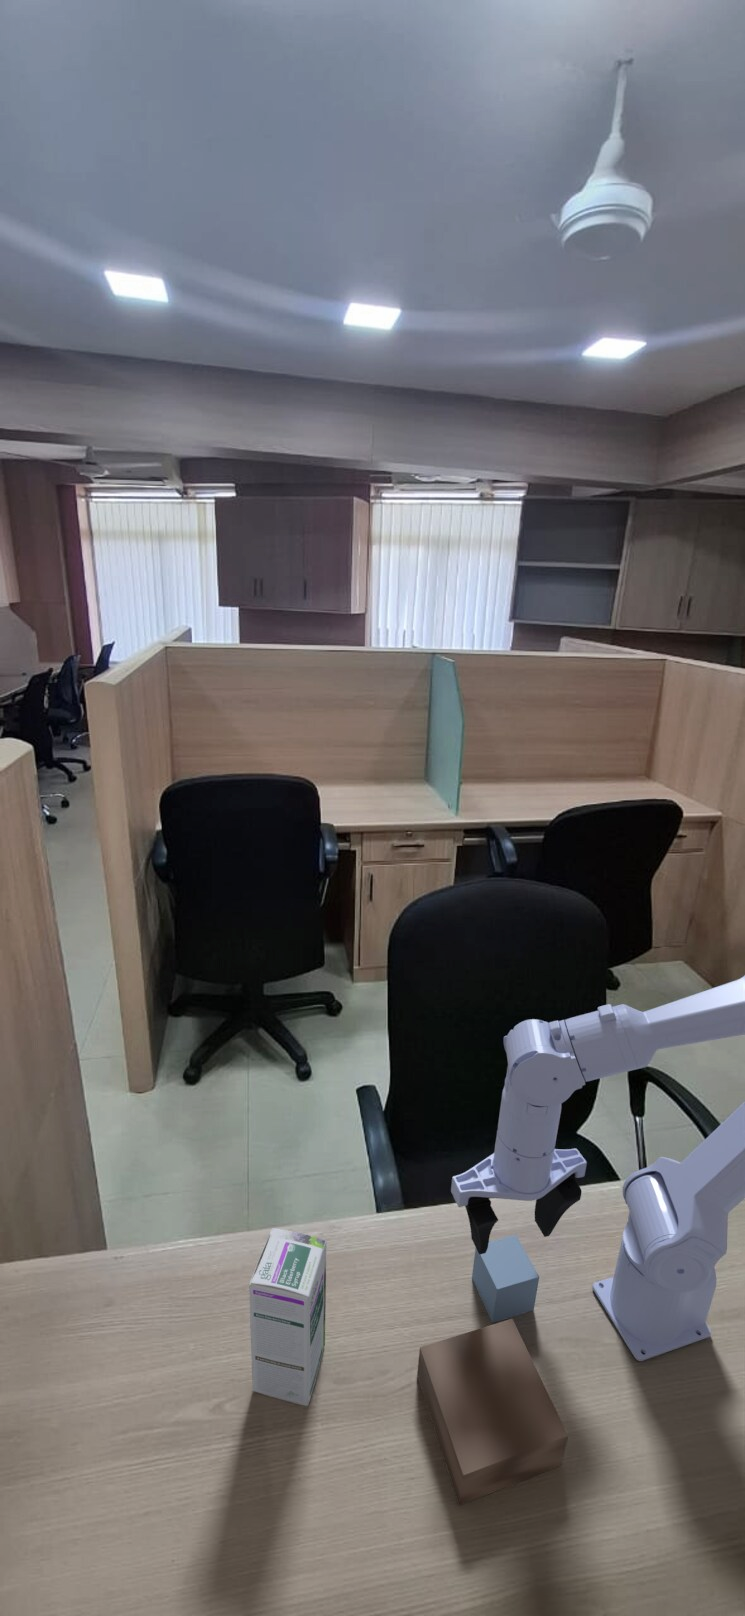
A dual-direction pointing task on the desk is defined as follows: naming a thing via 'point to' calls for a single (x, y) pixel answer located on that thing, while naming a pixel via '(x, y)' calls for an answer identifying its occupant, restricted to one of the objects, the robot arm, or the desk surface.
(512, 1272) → the blue cube
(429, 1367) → the walnut block
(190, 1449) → the desk surface
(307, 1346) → the syrup box
